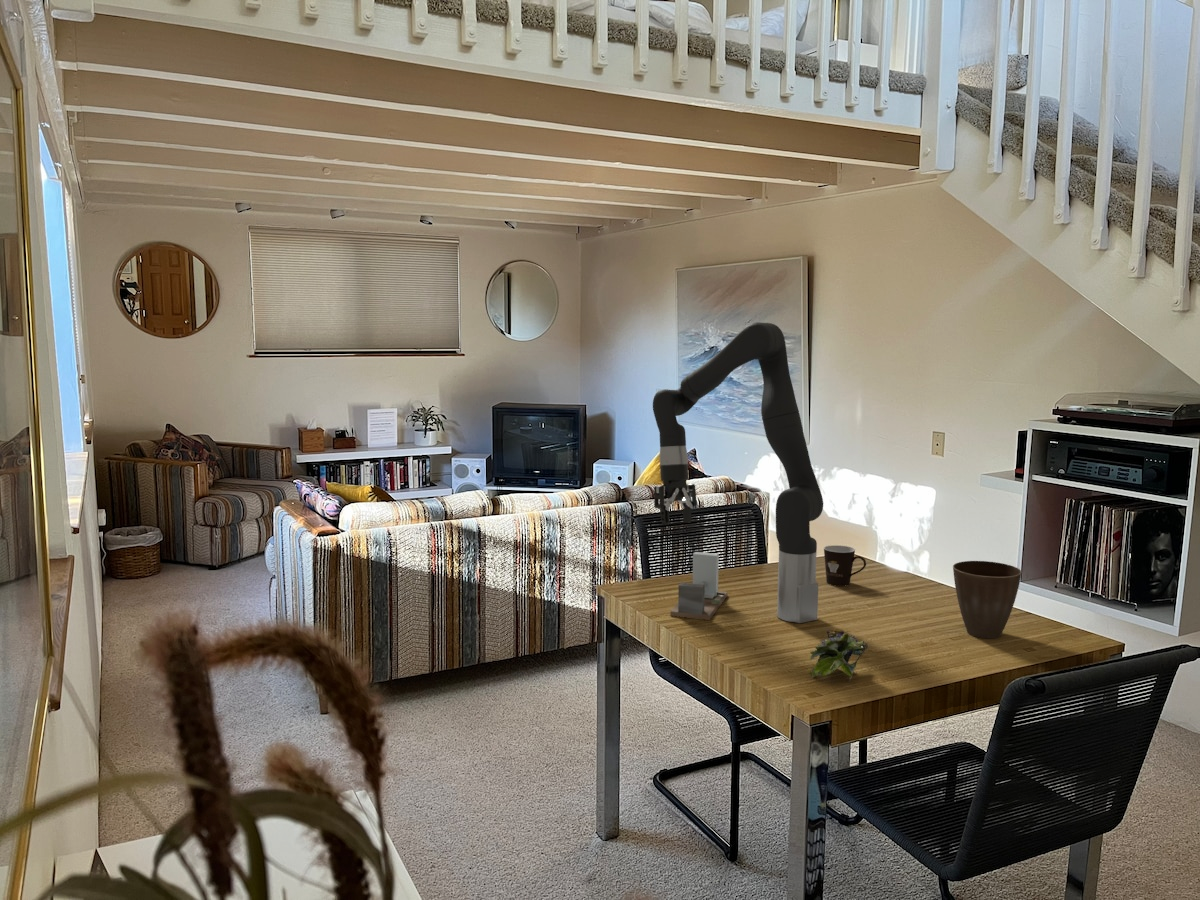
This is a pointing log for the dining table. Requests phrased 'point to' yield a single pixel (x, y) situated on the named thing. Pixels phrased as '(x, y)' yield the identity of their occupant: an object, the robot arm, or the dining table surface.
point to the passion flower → (837, 653)
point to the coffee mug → (840, 564)
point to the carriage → (706, 572)
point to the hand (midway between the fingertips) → (676, 523)
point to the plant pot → (986, 595)
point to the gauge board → (706, 608)
